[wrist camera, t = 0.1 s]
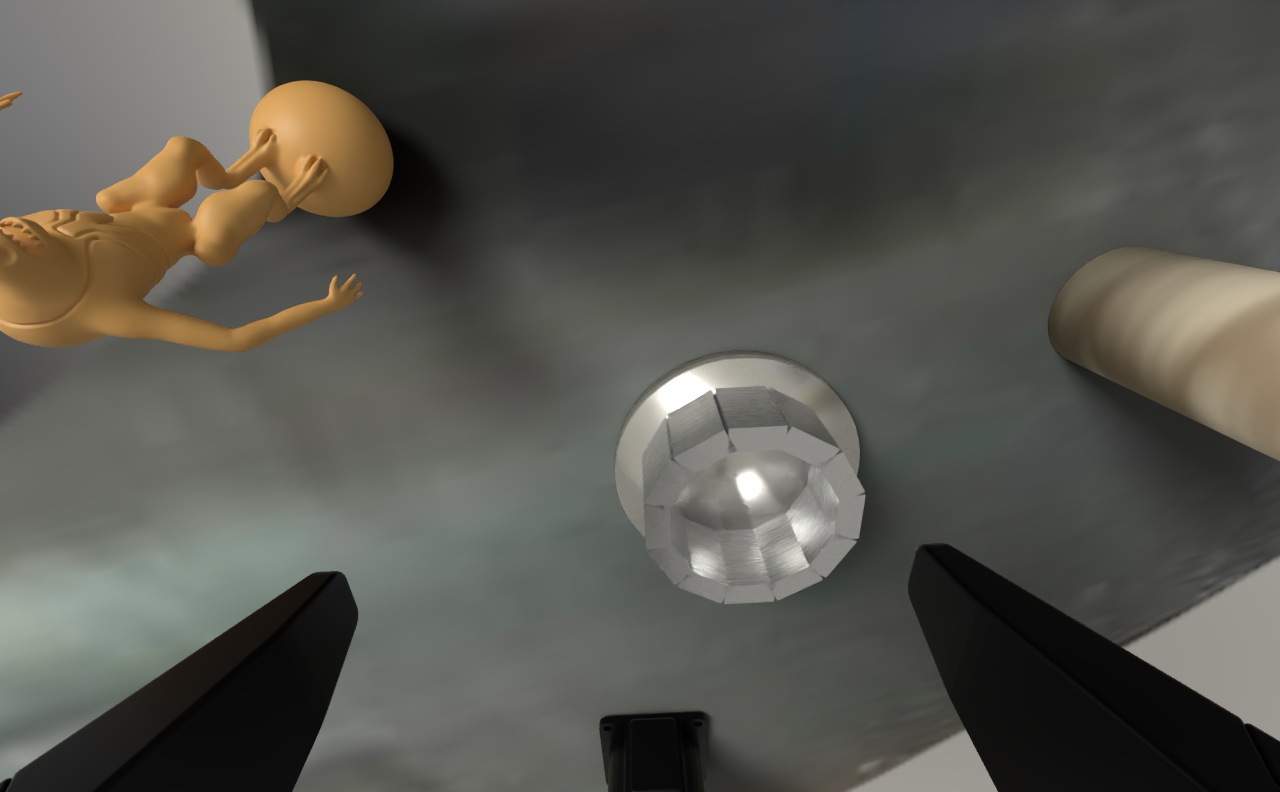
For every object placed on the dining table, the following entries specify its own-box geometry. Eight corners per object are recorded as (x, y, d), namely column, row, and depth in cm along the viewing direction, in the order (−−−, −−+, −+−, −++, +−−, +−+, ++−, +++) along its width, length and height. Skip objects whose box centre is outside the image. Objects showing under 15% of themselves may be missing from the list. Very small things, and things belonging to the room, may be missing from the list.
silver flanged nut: (837, 546, 27) (874, 617, 23) (623, 557, 27) (621, 630, 23) (866, 343, 22) (919, 387, 18) (607, 357, 22) (601, 403, 18)
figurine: (484, 167, 19) (291, 191, 8) (421, 305, 21) (201, 467, 10) (251, 20, 17) (-405, -204, 6) (207, 188, 19) (-342, 237, 8)
